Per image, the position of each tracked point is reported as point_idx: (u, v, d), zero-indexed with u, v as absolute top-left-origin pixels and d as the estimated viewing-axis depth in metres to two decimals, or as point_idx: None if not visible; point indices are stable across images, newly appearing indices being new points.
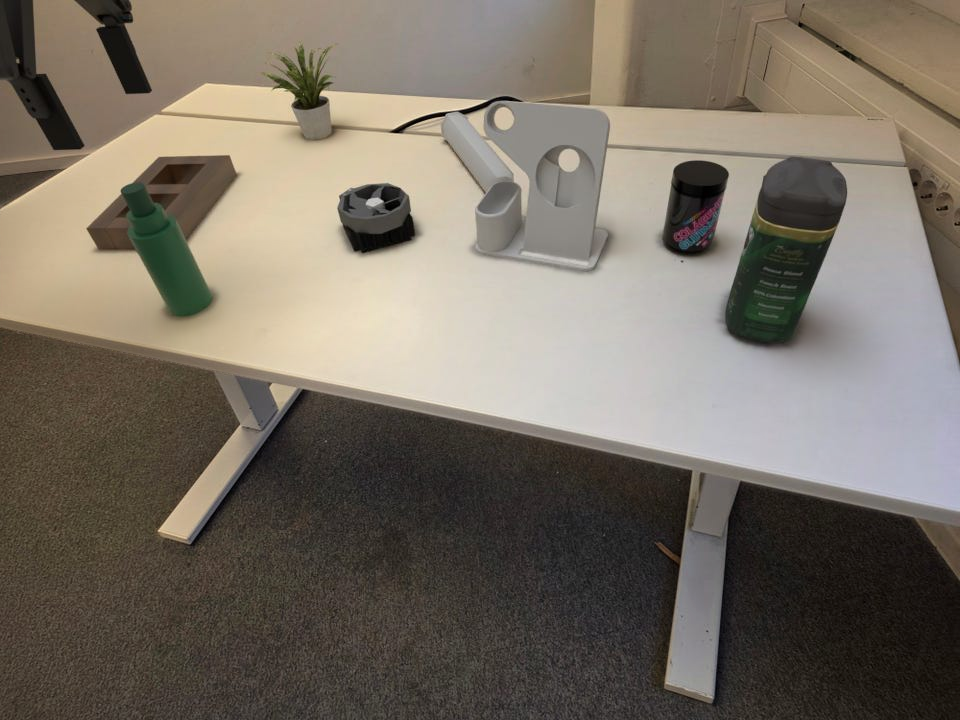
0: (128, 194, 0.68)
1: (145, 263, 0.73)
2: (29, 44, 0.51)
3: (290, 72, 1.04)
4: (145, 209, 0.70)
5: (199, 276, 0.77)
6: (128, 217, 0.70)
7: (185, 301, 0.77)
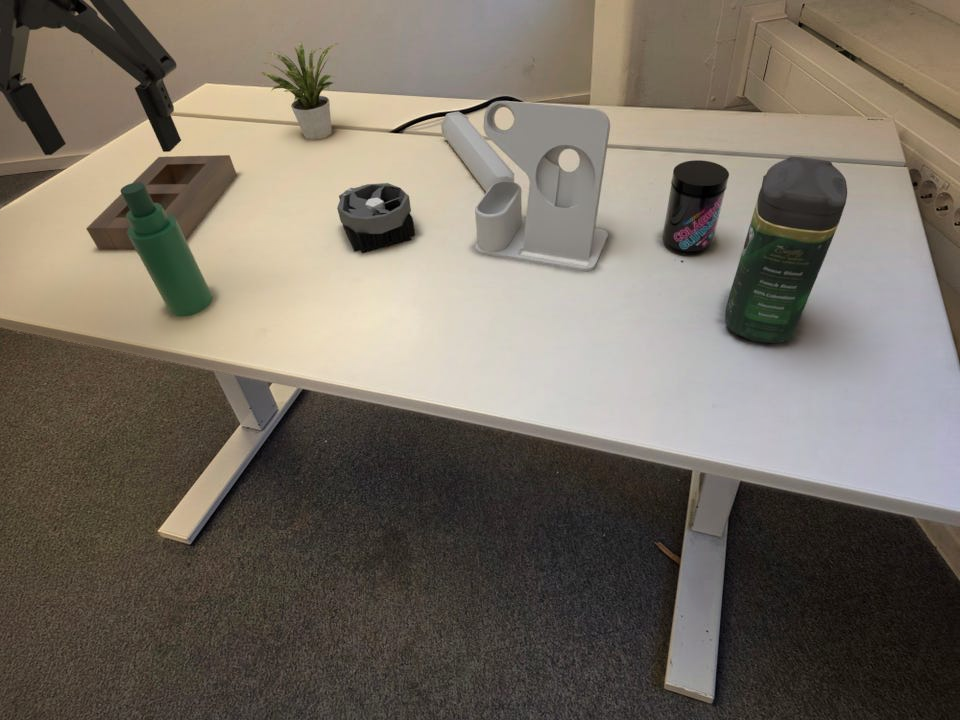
0: (128, 194, 0.68)
1: (145, 263, 0.73)
2: None
3: (290, 72, 1.04)
4: (145, 209, 0.70)
5: (199, 276, 0.77)
6: (128, 217, 0.70)
7: (185, 301, 0.77)
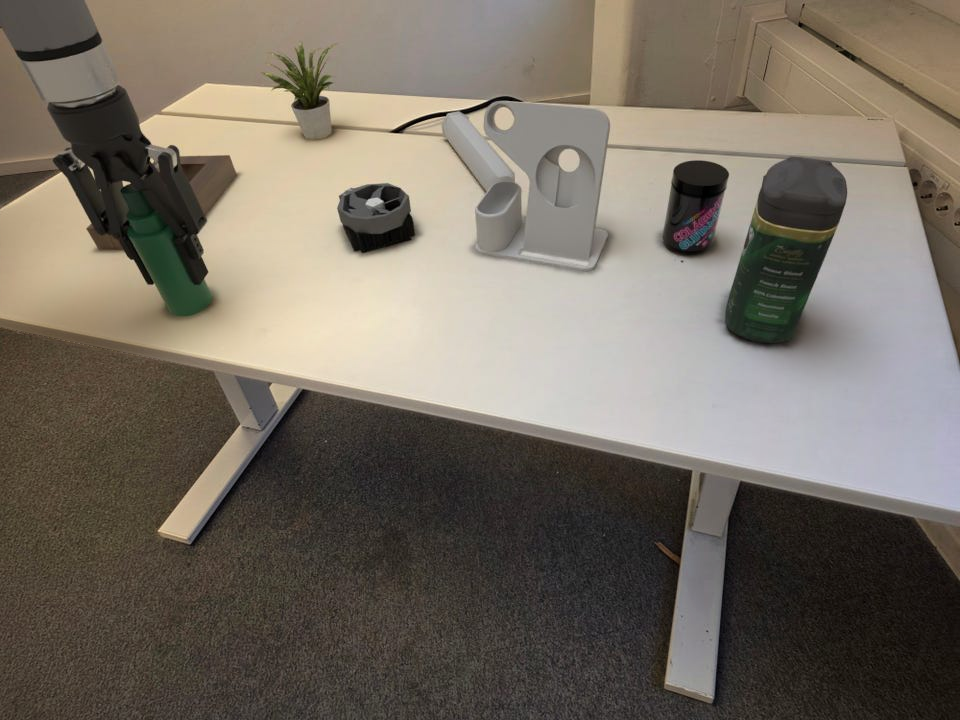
0: (128, 194, 0.68)
1: (145, 263, 0.73)
2: None
3: (290, 72, 1.04)
4: (145, 209, 0.70)
5: None
6: (128, 217, 0.70)
7: (185, 301, 0.77)
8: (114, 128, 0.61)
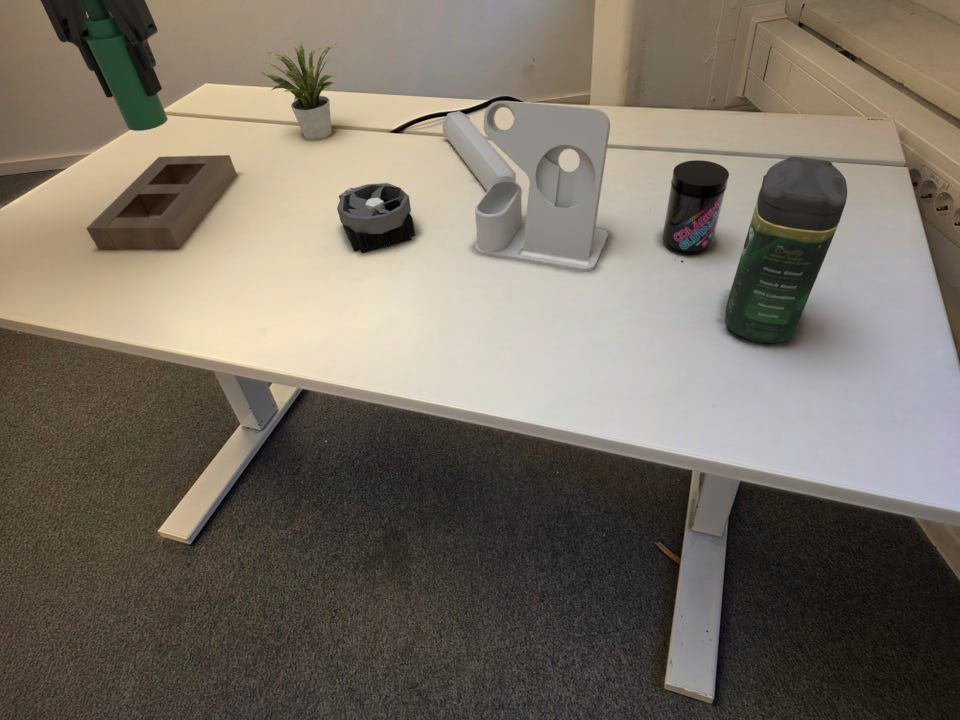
0: None
1: (102, 69, 0.82)
2: None
3: (290, 72, 1.04)
4: (100, 12, 0.78)
5: None
6: (86, 20, 0.79)
7: (140, 112, 0.85)
8: None
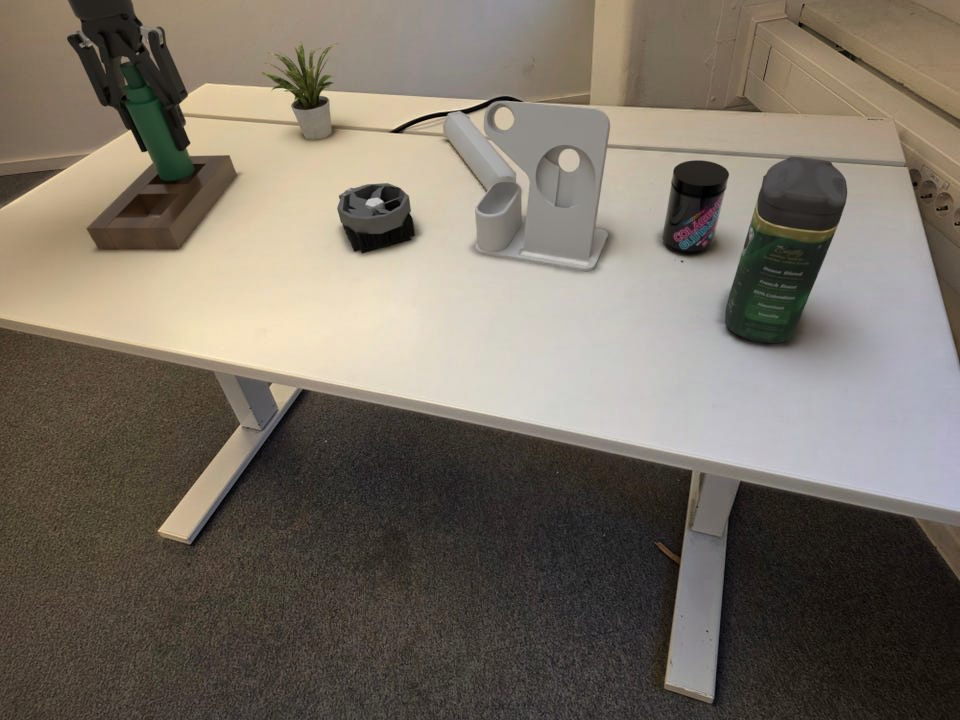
0: (125, 67, 0.87)
1: (139, 129, 0.92)
2: None
3: (290, 72, 1.04)
4: (139, 82, 0.89)
5: None
6: (125, 88, 0.89)
7: (172, 165, 0.96)
8: (114, 7, 0.81)
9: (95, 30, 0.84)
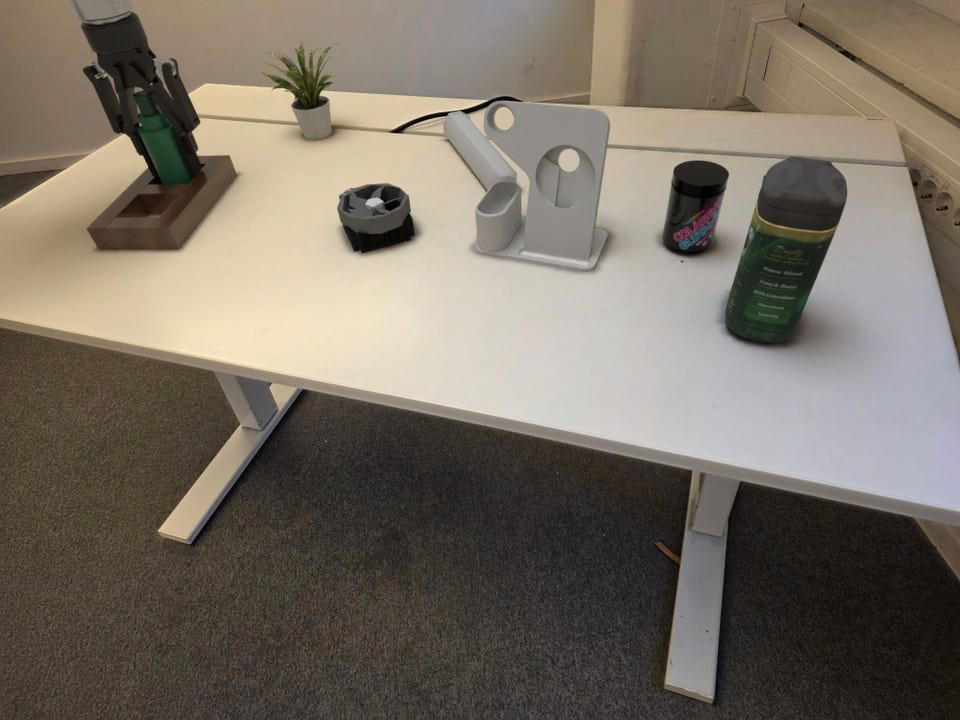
0: (139, 97, 0.90)
1: (151, 155, 0.95)
2: None
3: (290, 72, 1.04)
4: (151, 110, 0.92)
5: None
6: (139, 117, 0.92)
7: None
8: (129, 42, 0.84)
9: (111, 63, 0.87)
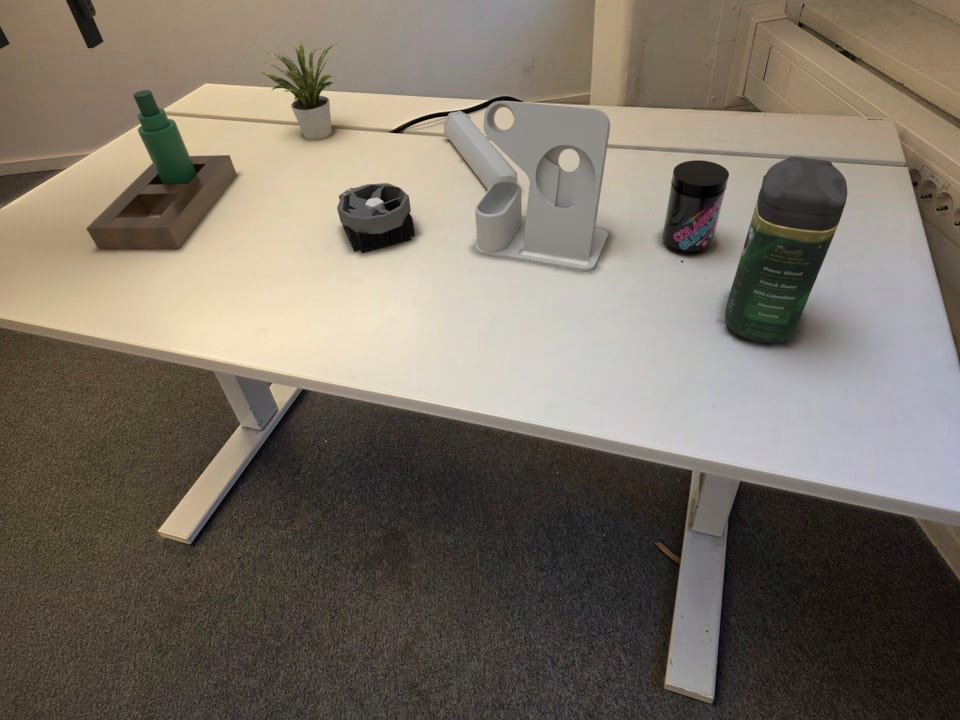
0: (139, 97, 0.90)
1: (151, 155, 0.95)
2: None
3: (290, 72, 1.04)
4: (151, 110, 0.92)
5: (193, 170, 0.99)
6: (139, 117, 0.92)
7: None
8: None
9: None
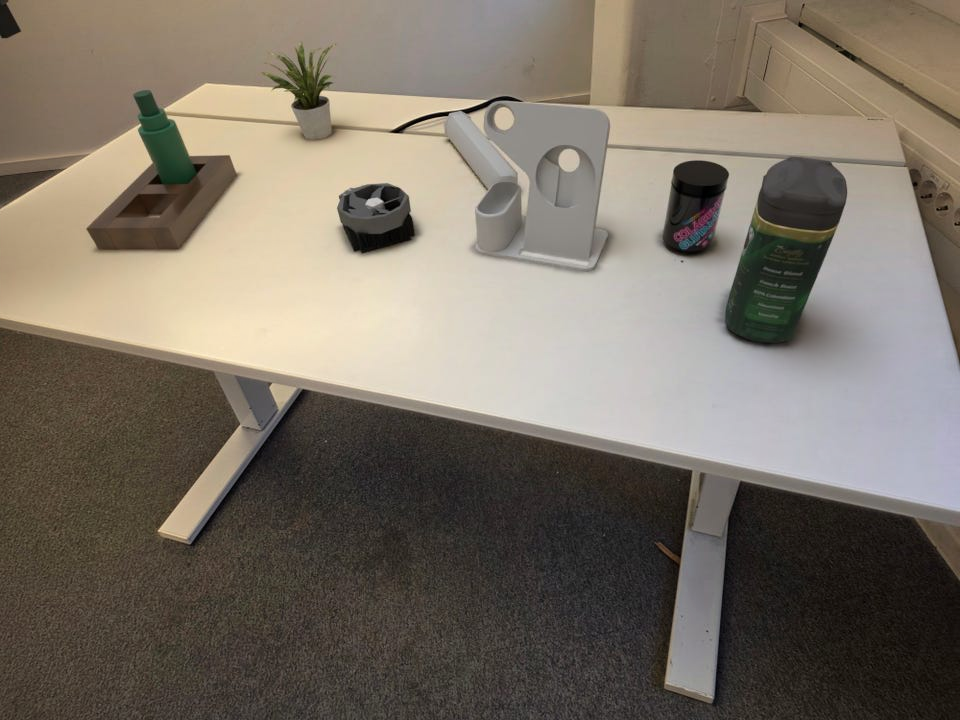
0: (139, 97, 0.90)
1: (151, 155, 0.95)
2: None
3: (290, 72, 1.04)
4: (151, 110, 0.92)
5: (193, 170, 0.99)
6: (139, 117, 0.92)
7: None
8: None
9: None
